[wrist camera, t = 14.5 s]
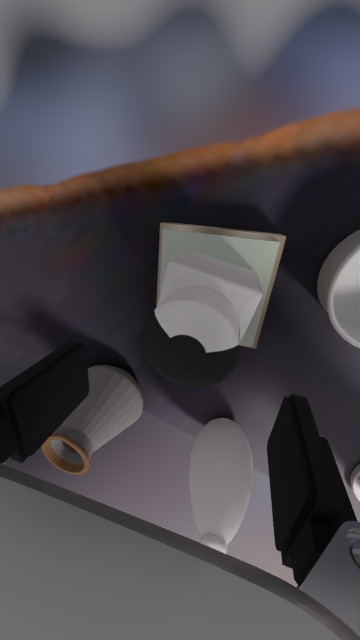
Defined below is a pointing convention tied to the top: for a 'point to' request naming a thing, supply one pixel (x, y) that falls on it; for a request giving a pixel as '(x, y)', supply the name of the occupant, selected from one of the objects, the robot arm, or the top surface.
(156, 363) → the medicine bottle
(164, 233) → the plinth
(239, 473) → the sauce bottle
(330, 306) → the saucepan
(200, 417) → the top surface
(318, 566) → the robot arm
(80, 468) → the coffee pot
